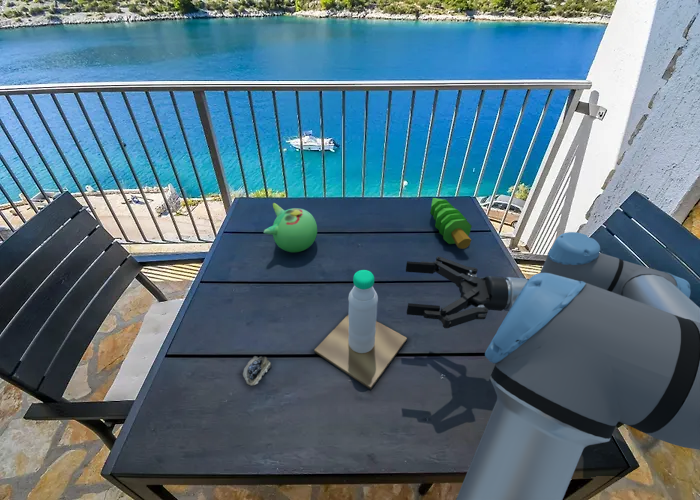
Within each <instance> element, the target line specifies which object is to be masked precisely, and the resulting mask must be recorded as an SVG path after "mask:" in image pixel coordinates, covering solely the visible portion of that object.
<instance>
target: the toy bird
mask: <svg viewBox="0 0 700 500" xmlns="http://www.w3.org/2000/svg"><path fill="white" fill-rule="evenodd" d="M272 208H273V211H274V213H275V216H276V218H275V219H274V221H273V224H272V225H271V226H269V227H267V228H265V229H264V230H263V234H264V235H272V238H273V241H274V242H275V244H276V245H277V247H278V248H280V249H281V250H283V251H285V252H287V253H288V252H289V253H301V252H304V251H305V250H307V249H309V248H310V247H311V246H312V245H313V244H314V242H316V238H317V236H318V225H317V221H316V219H315V217H314V216H313V214H312V213H310V212H309V211H308V210H306V209H304V208H300V207H299V208H297V207H293V208H288V209H286V210H285V209H283V208H282V207H281V206H280V205H279V204H277V203H275V202H273V203H272Z"/></svg>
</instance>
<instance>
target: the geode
mask: <svg viewBox="0 0 700 500" xmlns="http://www.w3.org/2000/svg"><path fill="white" fill-rule="evenodd" d="M271 367H272V363H271V362H270V360H269V359H268V357H267V356H259V357H258V356H256V355H254V356H253V357H252V358H251V359H250V360H249V361H248V362H247V364H246V365H245V367H244V368H243V372H242V376H243V377H242V378H244V380H245V382H246V384H247V385H248V386H251V387H252V386H256V385H258V384H259V382H260V381H261V380H262V376H264V375H265V373H267V372H268V370H269V369H271Z"/></svg>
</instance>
